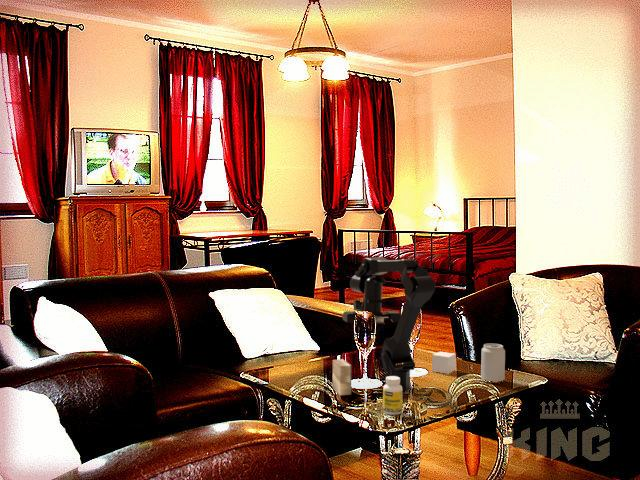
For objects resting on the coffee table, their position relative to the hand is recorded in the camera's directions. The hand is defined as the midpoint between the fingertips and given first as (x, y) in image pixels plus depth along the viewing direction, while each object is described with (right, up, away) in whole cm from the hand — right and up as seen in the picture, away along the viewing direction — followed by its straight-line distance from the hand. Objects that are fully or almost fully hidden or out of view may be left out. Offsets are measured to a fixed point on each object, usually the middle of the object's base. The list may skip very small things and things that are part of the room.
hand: (371, 342), depth 227 cm
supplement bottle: (+3, -15, -33) cm, 37 cm away
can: (+39, -13, -2) cm, 41 cm away
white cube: (+26, -12, +10) cm, 30 cm away
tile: (-10, -13, -14) cm, 21 cm away
